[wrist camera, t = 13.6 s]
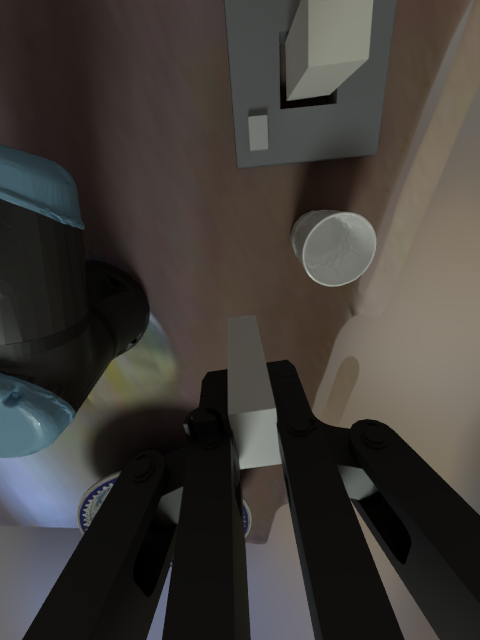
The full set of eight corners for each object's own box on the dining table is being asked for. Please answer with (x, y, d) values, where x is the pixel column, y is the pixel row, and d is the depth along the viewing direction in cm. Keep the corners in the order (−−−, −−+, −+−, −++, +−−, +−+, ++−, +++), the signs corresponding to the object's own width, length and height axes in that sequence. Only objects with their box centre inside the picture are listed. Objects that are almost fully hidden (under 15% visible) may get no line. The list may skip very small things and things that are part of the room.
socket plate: (237, 169, 33) (237, 167, 30) (222, -18, 26) (221, -49, 23) (365, 156, 33) (380, 153, 30) (386, -36, 26) (409, -70, 22)
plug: (282, 108, 31) (308, 67, 20) (280, 55, 29) (308, -21, 18) (321, 102, 30) (368, 58, 20) (322, 49, 28) (375, -31, 18)
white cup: (282, 212, 36) (298, 221, 27) (341, 198, 35) (377, 203, 26) (289, 268, 39) (306, 292, 30) (343, 256, 39) (375, 278, 30)
